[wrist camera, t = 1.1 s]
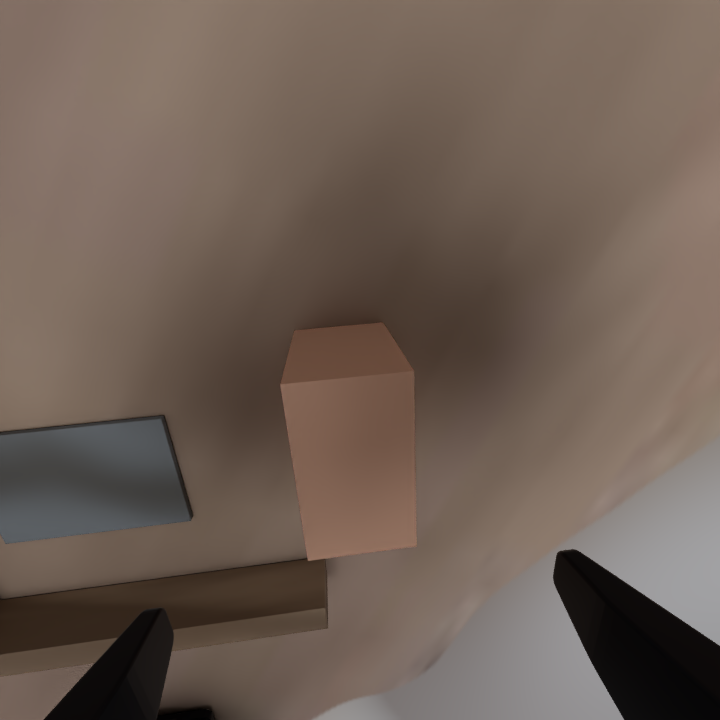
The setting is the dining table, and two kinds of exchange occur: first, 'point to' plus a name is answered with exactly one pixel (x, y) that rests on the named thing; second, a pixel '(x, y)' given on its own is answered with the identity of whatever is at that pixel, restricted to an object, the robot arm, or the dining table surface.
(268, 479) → the dining table surface
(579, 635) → the robot arm
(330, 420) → the block
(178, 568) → the dining table surface
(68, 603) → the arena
